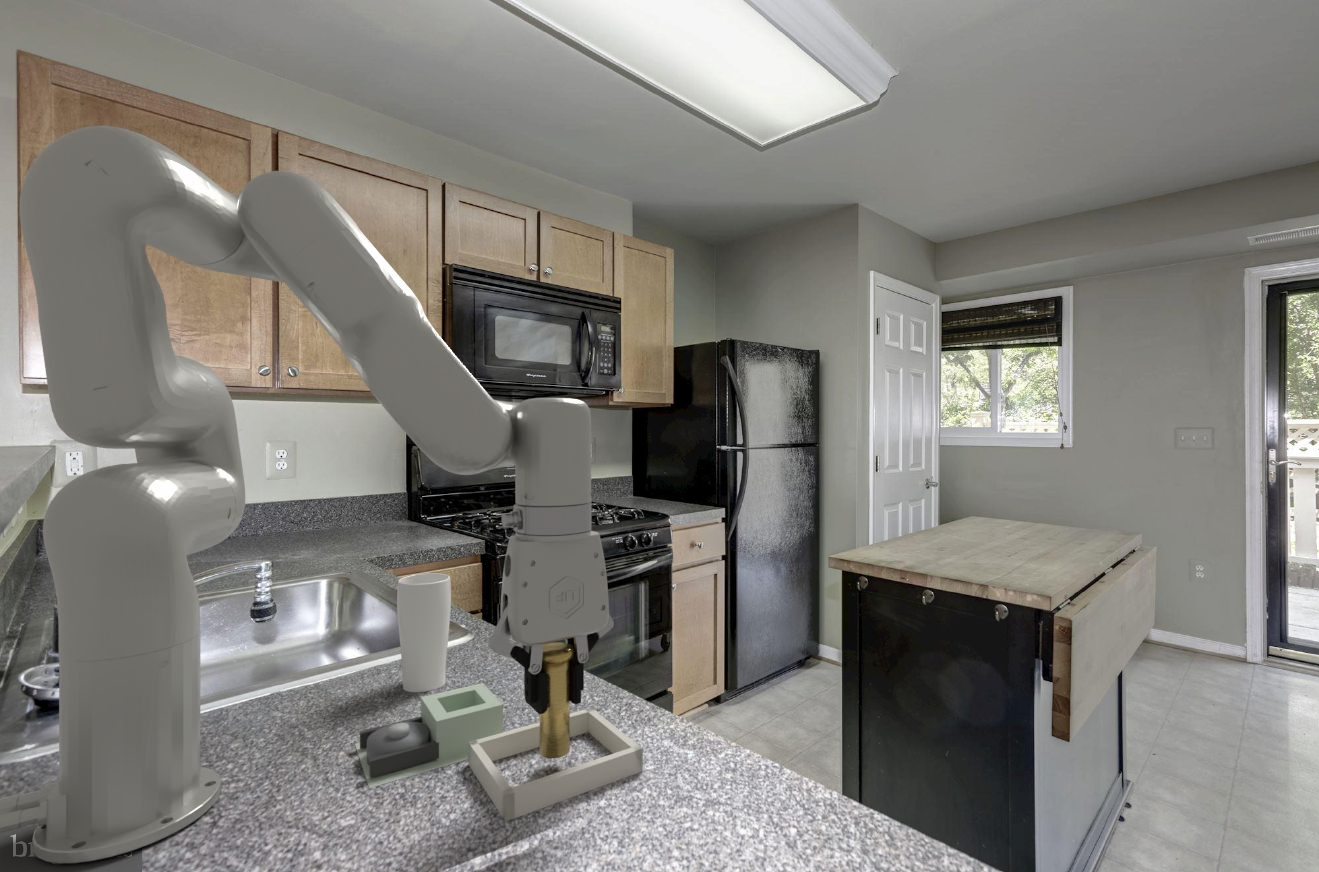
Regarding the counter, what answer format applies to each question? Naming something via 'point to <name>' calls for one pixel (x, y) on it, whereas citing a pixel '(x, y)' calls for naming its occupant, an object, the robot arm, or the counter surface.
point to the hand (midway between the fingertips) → (554, 702)
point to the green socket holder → (430, 735)
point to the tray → (558, 784)
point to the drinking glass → (424, 629)
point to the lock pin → (556, 701)
